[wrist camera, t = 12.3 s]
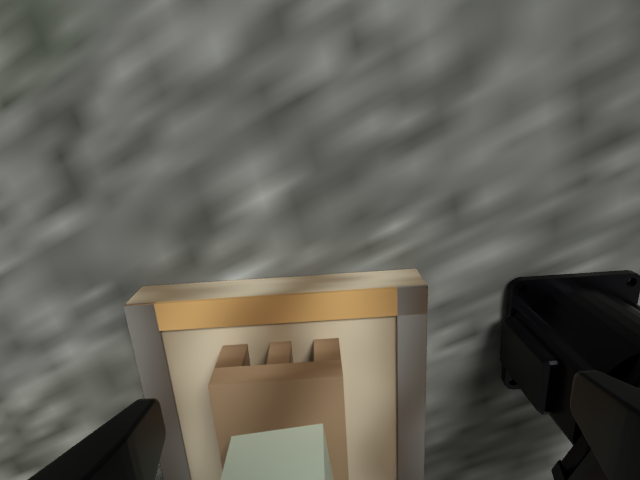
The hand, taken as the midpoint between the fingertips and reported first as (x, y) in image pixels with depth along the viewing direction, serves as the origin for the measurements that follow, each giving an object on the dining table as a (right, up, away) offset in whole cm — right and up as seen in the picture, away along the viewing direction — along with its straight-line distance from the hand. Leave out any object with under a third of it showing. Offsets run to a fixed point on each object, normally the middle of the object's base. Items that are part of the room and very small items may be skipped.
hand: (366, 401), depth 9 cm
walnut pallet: (-3, -6, +12) cm, 14 cm away
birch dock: (-3, -5, +14) cm, 15 cm away
